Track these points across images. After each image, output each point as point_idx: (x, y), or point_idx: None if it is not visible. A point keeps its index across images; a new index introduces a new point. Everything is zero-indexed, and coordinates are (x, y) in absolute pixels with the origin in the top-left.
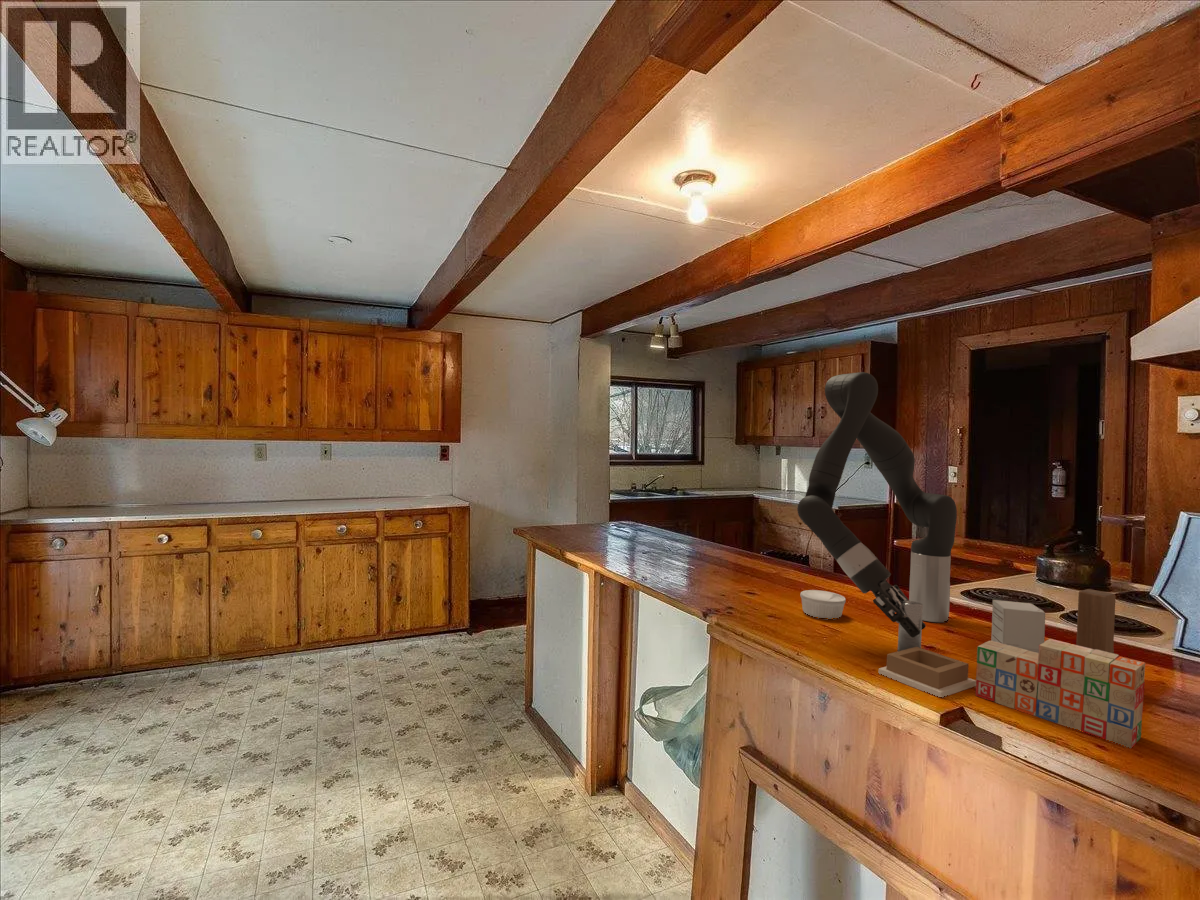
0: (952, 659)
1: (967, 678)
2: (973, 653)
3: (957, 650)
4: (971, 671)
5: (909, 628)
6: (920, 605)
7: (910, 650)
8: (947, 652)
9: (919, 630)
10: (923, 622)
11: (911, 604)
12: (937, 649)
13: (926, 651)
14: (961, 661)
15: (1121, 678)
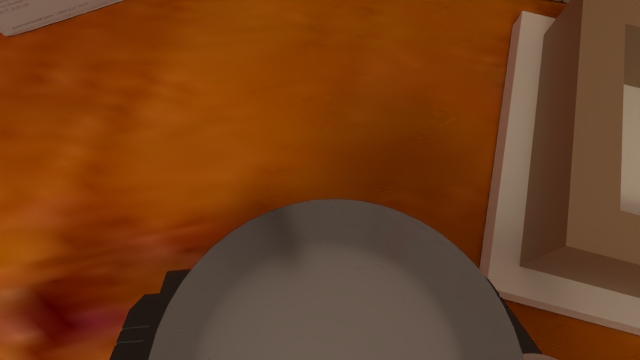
0: (596, 42)
1: (548, 32)
2: (5, 106)
3: (6, 176)
4: (334, 66)
5: None
6: (357, 219)
7: None
8: (93, 208)
9: None
10: (163, 286)
11: (421, 348)
12: (72, 264)
13: (600, 173)
14: (582, 7)
15: None
